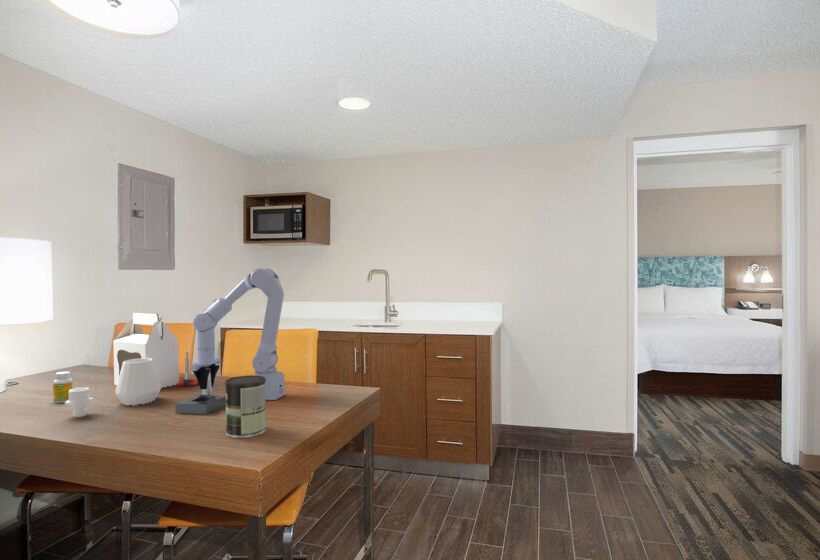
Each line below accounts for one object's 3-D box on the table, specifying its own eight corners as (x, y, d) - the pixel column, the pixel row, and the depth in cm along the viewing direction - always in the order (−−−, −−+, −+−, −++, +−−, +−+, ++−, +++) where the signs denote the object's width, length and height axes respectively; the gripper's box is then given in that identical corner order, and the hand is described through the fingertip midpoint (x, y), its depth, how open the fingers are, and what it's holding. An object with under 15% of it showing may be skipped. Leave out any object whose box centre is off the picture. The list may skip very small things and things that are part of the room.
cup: (163, 395, 170) (162, 355, 170) (158, 404, 157) (157, 362, 157) (119, 399, 165) (119, 358, 165) (111, 409, 152) (110, 365, 152)
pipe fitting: (61, 419, 141) (61, 392, 141) (73, 413, 148) (73, 387, 148) (85, 418, 143) (85, 391, 143) (96, 411, 150) (95, 386, 150)
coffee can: (220, 439, 123) (219, 384, 122) (232, 426, 133) (231, 375, 133) (261, 437, 123) (260, 383, 123) (270, 425, 133) (269, 374, 133)
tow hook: (185, 382, 192) (174, 386, 183) (185, 350, 192) (175, 352, 183) (206, 382, 192) (197, 386, 183) (206, 349, 193) (197, 352, 183)
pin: (213, 396, 166) (212, 368, 166) (208, 399, 163) (207, 369, 163) (205, 396, 167) (205, 367, 167) (200, 398, 164) (199, 369, 164)
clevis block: (226, 405, 155) (225, 396, 155) (206, 414, 145) (205, 404, 145) (197, 404, 157) (196, 394, 157) (175, 413, 147) (175, 403, 147)
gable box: (180, 384, 187) (178, 312, 186) (146, 391, 175) (145, 315, 175) (147, 378, 198) (145, 311, 198) (113, 385, 187) (112, 313, 186)
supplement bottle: (54, 404, 160) (53, 375, 159) (53, 400, 164) (52, 372, 164) (73, 401, 163) (73, 372, 163) (72, 398, 167) (71, 370, 167)
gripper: (208, 345, 173) (209, 382, 173) (181, 351, 158) (182, 392, 159) (226, 345, 171) (226, 383, 171) (200, 352, 157) (201, 393, 157)
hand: (206, 387), depth 165 cm, fingers closed on pin, 3 cm apart
